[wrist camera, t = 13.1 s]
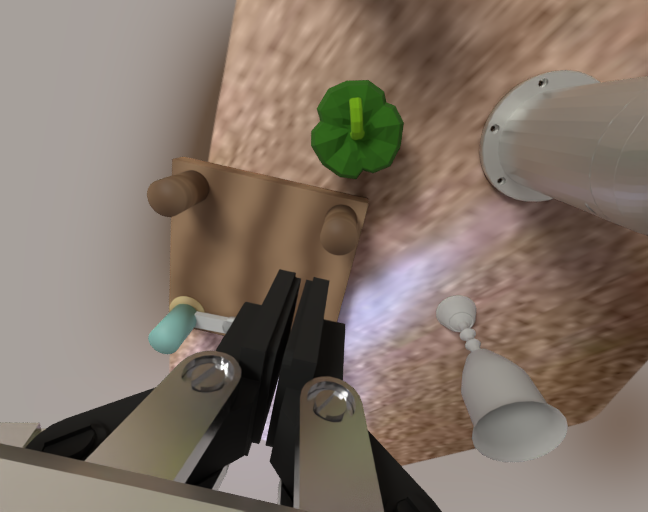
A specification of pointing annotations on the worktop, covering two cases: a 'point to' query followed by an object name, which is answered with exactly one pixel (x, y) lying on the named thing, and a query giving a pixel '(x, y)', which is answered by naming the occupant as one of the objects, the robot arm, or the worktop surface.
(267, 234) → the footstool
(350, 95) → the bell pepper
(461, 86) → the worktop surface
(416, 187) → the worktop surface
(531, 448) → the chalice
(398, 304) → the worktop surface
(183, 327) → the cylinder
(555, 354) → the worktop surface
